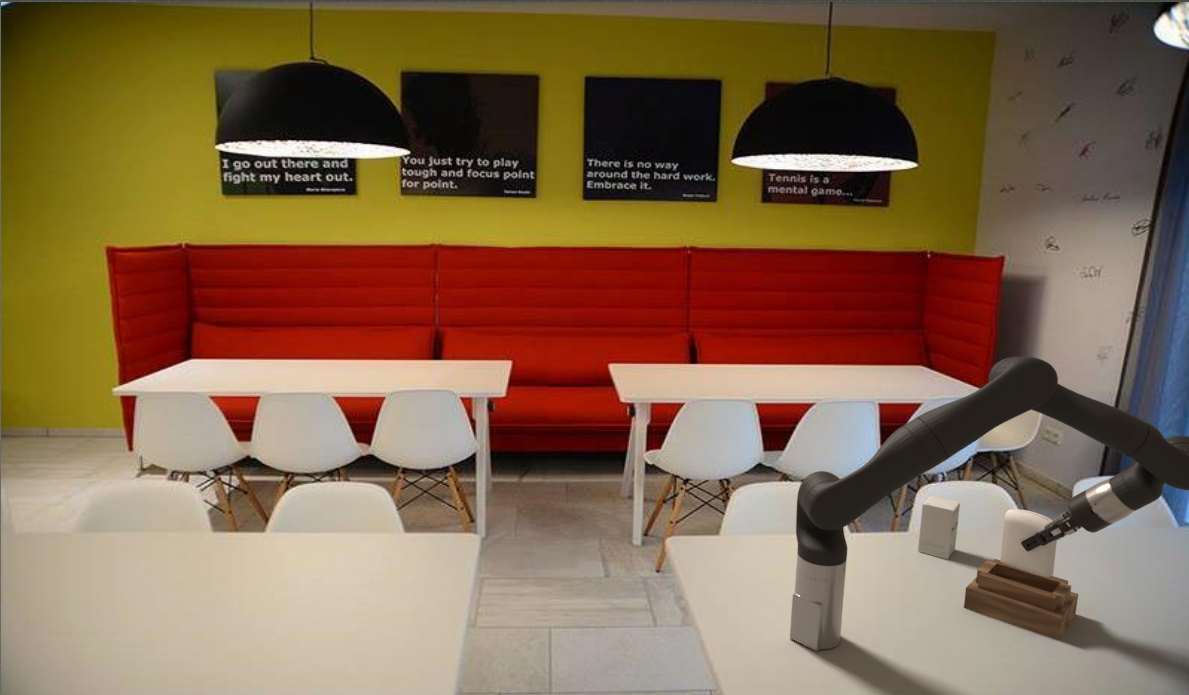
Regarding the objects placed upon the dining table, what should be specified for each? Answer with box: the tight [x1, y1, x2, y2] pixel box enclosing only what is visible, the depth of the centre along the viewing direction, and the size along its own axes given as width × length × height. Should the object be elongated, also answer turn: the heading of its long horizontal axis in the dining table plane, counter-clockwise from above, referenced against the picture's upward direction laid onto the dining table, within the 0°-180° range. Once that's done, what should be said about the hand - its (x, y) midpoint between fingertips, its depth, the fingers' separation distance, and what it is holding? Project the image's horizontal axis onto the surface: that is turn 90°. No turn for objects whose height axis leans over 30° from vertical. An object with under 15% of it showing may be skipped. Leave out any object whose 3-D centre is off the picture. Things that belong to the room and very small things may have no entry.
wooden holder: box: [963, 558, 1079, 641], centre depth 167 cm, size 14×18×8 cm
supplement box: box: [917, 495, 961, 560], centre depth 195 cm, size 7×7×13 cm
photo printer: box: [999, 509, 1058, 577], centre depth 165 cm, size 10×4×12 cm, turn 40°
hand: (1029, 543), depth 165 cm, fingers closed on photo printer, 4 cm apart
